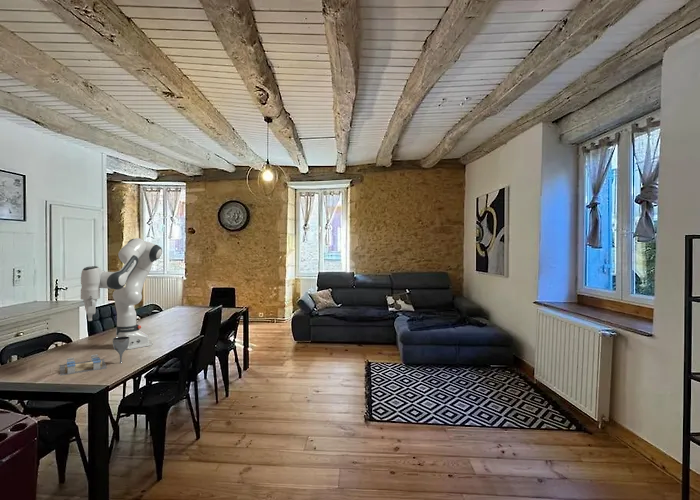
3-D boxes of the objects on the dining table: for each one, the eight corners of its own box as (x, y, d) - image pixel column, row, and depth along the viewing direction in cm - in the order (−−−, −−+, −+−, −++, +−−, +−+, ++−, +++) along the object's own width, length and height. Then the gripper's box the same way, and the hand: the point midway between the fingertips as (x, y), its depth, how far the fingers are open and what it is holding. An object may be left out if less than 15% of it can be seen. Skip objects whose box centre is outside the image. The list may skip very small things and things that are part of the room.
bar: (101, 365, 204) (101, 360, 204) (102, 367, 202) (102, 361, 202) (64, 371, 195) (64, 365, 195) (64, 373, 192) (64, 367, 192)
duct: (103, 360, 217) (103, 351, 217) (107, 370, 201) (107, 360, 201) (59, 366, 205) (60, 357, 205) (60, 377, 188) (60, 367, 188)
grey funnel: (132, 363, 212) (132, 337, 212) (119, 367, 205) (119, 340, 205) (121, 361, 215) (122, 335, 215) (109, 365, 208) (109, 339, 208)
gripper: (98, 297, 201) (98, 322, 201) (95, 293, 217) (95, 317, 217) (84, 298, 197) (84, 324, 197) (82, 294, 214) (82, 318, 214)
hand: (90, 320), depth 208 cm, fingers closed
